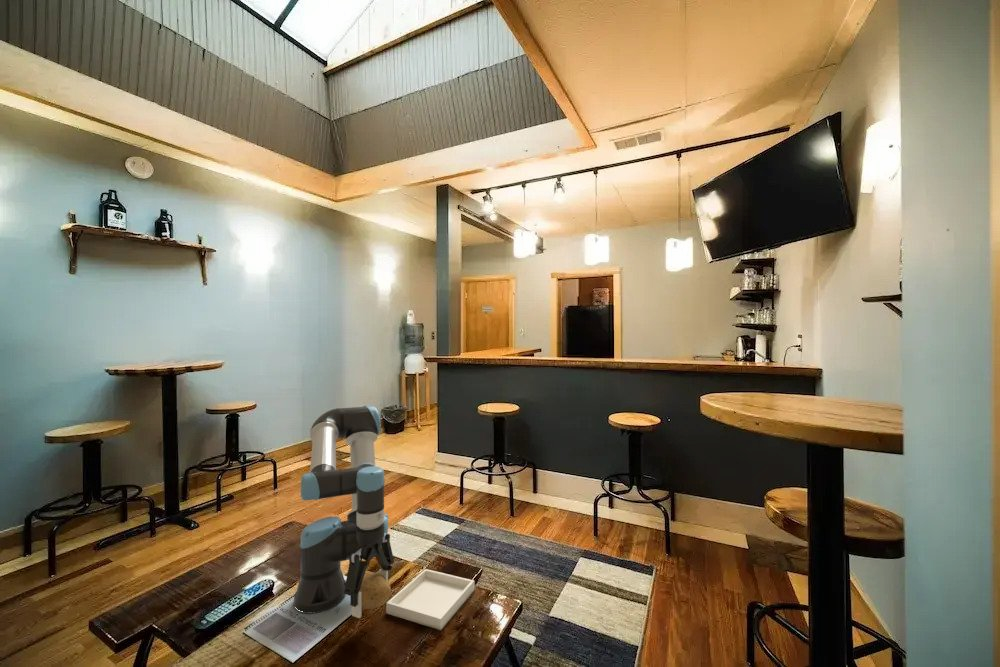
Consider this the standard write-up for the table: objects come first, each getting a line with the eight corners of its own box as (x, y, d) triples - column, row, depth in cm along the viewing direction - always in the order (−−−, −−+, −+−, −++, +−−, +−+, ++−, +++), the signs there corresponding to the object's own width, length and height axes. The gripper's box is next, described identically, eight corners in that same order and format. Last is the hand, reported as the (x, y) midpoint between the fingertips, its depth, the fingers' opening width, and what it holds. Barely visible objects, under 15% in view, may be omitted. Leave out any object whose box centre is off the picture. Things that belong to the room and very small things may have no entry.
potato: (372, 625, 103) (372, 594, 103) (339, 605, 110) (339, 577, 111) (400, 604, 111) (400, 575, 111) (368, 587, 118) (368, 560, 119)
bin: (386, 613, 116) (386, 602, 116) (425, 577, 134) (425, 568, 135) (440, 630, 108) (440, 619, 109) (474, 590, 127) (474, 580, 127)
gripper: (350, 545, 99) (350, 635, 99) (406, 510, 120) (406, 584, 119) (328, 539, 102) (328, 626, 102) (386, 506, 123) (386, 578, 122)
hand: (370, 603), depth 111 cm, fingers closed on potato, 10 cm apart
